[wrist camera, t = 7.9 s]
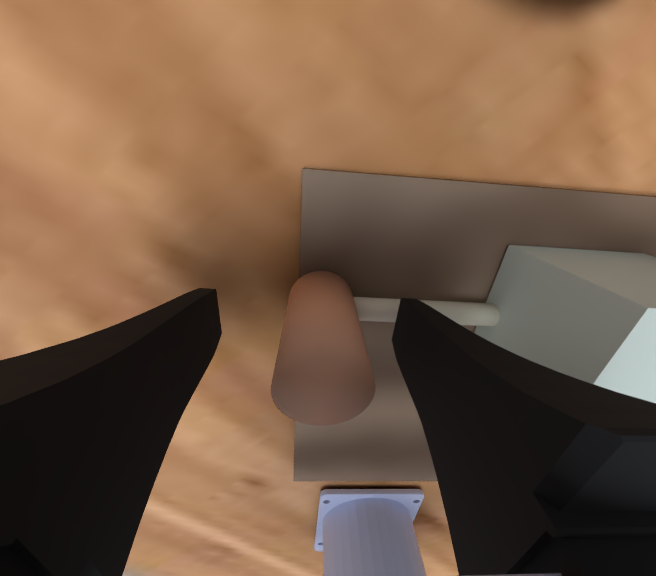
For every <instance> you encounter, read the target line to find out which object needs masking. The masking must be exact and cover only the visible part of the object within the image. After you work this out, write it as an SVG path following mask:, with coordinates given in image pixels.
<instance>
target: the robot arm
mask: <svg viewBox="0 0 656 576" xmlns="http://www.w3.org/2000/svg"><path fill="white" fill-rule="evenodd" d="M221 334H222V330H221V323H220V315H219V307H218V300H217V292H216V289H205V288H199V289H196V290H193V291H191V292H188V293H186V294H184V295H181V296H179V297H177V298H175V299H173V300H171V301H169V302H166V303H164V304H162V305H160V306H158V307H156V308H154V309H151V310H149V311H147V312H145V313H142V314H140V315H138V316H135V317H133V318H131V319H128V320H126V321H124V322H121V323H119V324H116V325H114V326H111V327H109V328H106V329H103V330H101V331H98V332H95V333H92V334H89V335H86V336H83V337H80V338H77V339H74V340H71V341H68V342H65V343H61V344H58V345H54V346H51V347H48V348H44V349H41V350H37V351H34V352H31V353H27V354H24V355H20V356H16V357H12V358H8V359H4V360H0V576H122V574H123V571H124V568H125V565H126V562H127V559H128V556H129V553H130V550H131V547H132V544H133V541H134V538H135V535H136V532H137V529H138V526H139V524H140V521H141V518H142V515H143V512H144V510H145V507H146V504H147V501H148V499H149V496H150V493H151V490H152V488H153V485H154V482H155V480H156V477H157V474H158V472H159V469H160V467H161V464H162V462H163V459H164V456H165V454H166V451H167V449H168V446H169V444H170V442H171V439H172V437H173V434H174V432H175V430H176V427H177V425H178V422H179V420H180V418H181V416H182V414H183V412H184V410H185V408H186V406H187V404H188V402H189V400H190V399H191V397H192V395H193V393H194V391H195V389H196V388H197V386H198V384H199V382H200V380H201V378H202V377H203V375H204V373H205V371H206V369H207V367H208V365H209V364H210V362H211V360H212V358H213V356H214V353H215V351H216V348H217V346H218V343H219V340H220V337H221ZM392 344H393V348H394V352H395V356H396V360H397V363H398V365H399V368H400V371H401V373H402V376H403V378H404V380H405V383H406V385H407V388H408V390H409V393H410V395H411V397H412V400H413V402H414V405H415V407H416V410H417V412H418V415H419V418H420V420H421V423H422V426H423V430H424V433H425V437H426V440H427V443H428V447H429V450H430V454H431V458H432V461H433V465H434V469H435V472H436V476H437V480H438V484H439V488H440V492H441V496H442V500H443V504H444V508H445V513H446V517H447V521H448V525H449V530H450V535H451V539H452V544H453V548H454V553H455V558H456V562H457V567H458V572H459V576H656V403H653V402H649V401H646V400H642V399H639V398H636V397H632V396H629V395H625V394H622V393H618V392H615V391H612V390H609V389H606V388H603V387H600V386H597V385H594V384H591V383H588V382H585V381H582V380H579V379H577V378H574V377H571V376H568V375H566V374H563V373H560V372H557V371H555V370H552V369H550V368H547V367H545V366H543V365H540V364H538V363H535V362H533V361H530V360H528V359H526V358H523V357H521V356H519V355H517V354H514V353H512V352H510V351H508V350H506V349H504V348H502V347H500V346H498V345H496V344H494V343H492V342H490V341H488V340H486V339H484V338H482V337H481V336H479V335H477V334H475V333H473V332H472V331H470V330H468V329H466V328H465V327H463V326H461V325H460V324H458V323H456V322H455V321H453V320H451V319H450V318H448V317H446V316H445V315H443V314H442V313H440V312H438V311H437V310H435V309H434V308H432V307H430V306H429V305H427V304H425V303H424V302H422V301H420V300H418V299H411V298H401V300H400V304H399V309H398V313H397V318H396V322H395V326H394V331H393V335H392ZM423 499H424V494H423V491H422V490H421V489H324V490H322V491H321V492H320V499H319V508H318V516H317V525H316V534H315V543H314V549H315V550H316V551H323V576H426V572H425V568H424V565H423V561H422V557H421V553H420V549H419V546H418V542H417V538H416V534H415V530H414V526H413V521H414V519H415V516H416V514H417V512H418V510H419V507H420V505H421V503H422V501H423Z"/></svg>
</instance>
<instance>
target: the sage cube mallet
mask: <svg viewBox="0 0 656 576" xmlns="http://www.w3.org/2000/svg"><path fill="white" fill-rule="evenodd" d="M400 300H401V299H389V298H369V297H353V295H352V291H351V288H350V286H349V285H348V283H347V282H346V281H345V280H344V279H343V278H342V277H340V276H339V275H337V274H335V273H332V272H328V271H314V272H310V273H308V274H305V275H303V276H302V277H300V278H299V279H298V280H297V281H296V282H295V283H294V285H293V286H292V288H291V291H290V294H289V299H288V304H287V309H286V314H285V319H284V324H283V329H282V334H281V339H280V344H279V349H278V354H277V359H276V364H275V369H274V374H273V379H272V384H271V395H272V398H273V401H274V403H275V405H276V406H277V407H278V409H279V410H280V411H281V412H282V413H284V414H285V415H286V416H288V417H290V418H291V419H293V420H295V421H298V422H301V423H305V424H309V425H318V426H324V425H334V424H339V423H342V422H345V421H348V420H350V419H352V418H354V417H356V416H358V415H359V414H360V413H362V412H363V411H364V410H365V409H366V408H367V407H368V406H369V404H370V403H371V401H372V399H373V397H374V394H375V388H376V386H375V379H374V376H373V372H372V368H371V364H370V360H369V356H368V352H367V349H366V345H365V341H364V337H363V333H362V329H361V325H360V322H359V321H378V322H396V318H397V313H398V309H399V304H400ZM420 301H422V302H424V303H425V304H427V305H429V306H430V307H432V308H434V309H435V310H437V311H438V312H440V313H442V314H443V315H445V316H446V317H448V318H450V319H451V320H453V321H455V322H456V323H458V324H460V325H473V326H476V329H475V331H474V333H475V334H477V335H479V336H481V337H482V338H484V339H486V340H488V341H490V342H492V343H494V344H496V345H498V346H500V347H502V348H504V349H506V350H508V351H510V352H512V353H514V354H517V355H519V356H521V357H523V358H526V359H528V360H530V361H533V362H535V363H538V364H540V365H543V366H545V367H547V368H550V369H552V370H555V371H557V372H560V373H563V374H566V375H568V376H571V377H574V378H577V379H579V380H582V381H585V382H588V383H591V384H594V385H597V386H600V387H603V388H606V389H609V390H612V391H615V392H618V393H622V394H625V395H629V396H632V397H636V398H639V399H642V400H646V401H649V402H653V403H656V257H654V256H650V255H647V254H644V253H630V252H614V251H599V250H583V249H567V248H552V247H536V246H521V245H509V246H508V248H507V251H506V253H505V256H504V258H503V261H502V263H501V266H500V268H499V271H498V273H497V276H496V278H495V281H494V283H493V286H492V288H491V291H490V293H489V296H488V298H487V301H486V303H473V302H452V301H431V300H420Z"/></svg>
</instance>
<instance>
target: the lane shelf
mask: <svg viewBox="0 0 656 576" xmlns="http://www.w3.org/2000/svg"><path fill="white" fill-rule="evenodd" d="M509 245H521V246H536V247H552V248H567V249H583V250H599V251H614V252H630V253H644V254H647V255H650V256H654V257H656V196H644V195H631V194H619V193H607V192H594V191H582V190H570V189H557V188H545V187H533V186H520V185H508V184H496V183H483V182H471V181H458V180H446V179H434V178H421V177H409V176H397V175H384V174H372V173H360V172H347V171H335V170H323V169H310V168H303V170H302V205H301V240H300V275H299V278H300V277H302V276H303V275H305V274H308V273H310V272H314V271H328V272H332V273H335V274H337V275H339V276H340V277H342V278H343V279H344V280H345V281H346V282H347V283H348V285H349V286H350V288H351V291H352V295H353V297H369V298H389V299H401V298H411V299H418V300H431V301H452V302H473V303H486V301H487V298H488V296H489V293H490V291H491V288H492V286H493V283H494V281H495V278H496V276H497V273H498V271H499V268H500V266H501V263H502V261H503V258H504V256H505V253H506V251H507V248H508V246H509ZM359 322H360V325H361V329H362V333H363V337H364V341H365V345H366V349H367V352H368V356H369V360H370V364H371V368H372V372H373V376H374V379H375V386H376V388H375V394H374V397H373V399H372V401H371V403H370V404H369V406H368V407H367V408H366V409H365V410H364V411H363V412H362V413H360V414H359V415H358V416H356V417H354V418H352V419H350V420H348V421H345V422H342V423H339V424H334V425H324V426H318V425H309V424H305V423H301V422H298V421H295V450H294V481H438V480H437V476H436V472H435V469H434V465H433V461H432V458H431V454H430V450H429V447H428V443H427V440H426V437H425V433H424V430H423V426H422V423H421V420H420V418H419V415H418V412H417V410H416V407H415V405H414V402H413V400H412V397H411V395H410V393H409V390H408V388H407V385H406V383H405V380H404V378H403V376H402V373H401V371H400V368H399V365H398V363H397V360H396V356H395V352H394V348H393V344H392V335H393V331H394V326H395V322H378V321H359ZM461 326H463V327H465V328H466V329H468V330H470V331H472V332H473V333H474V331H475V329H476V326H473V325H461Z"/></svg>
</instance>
